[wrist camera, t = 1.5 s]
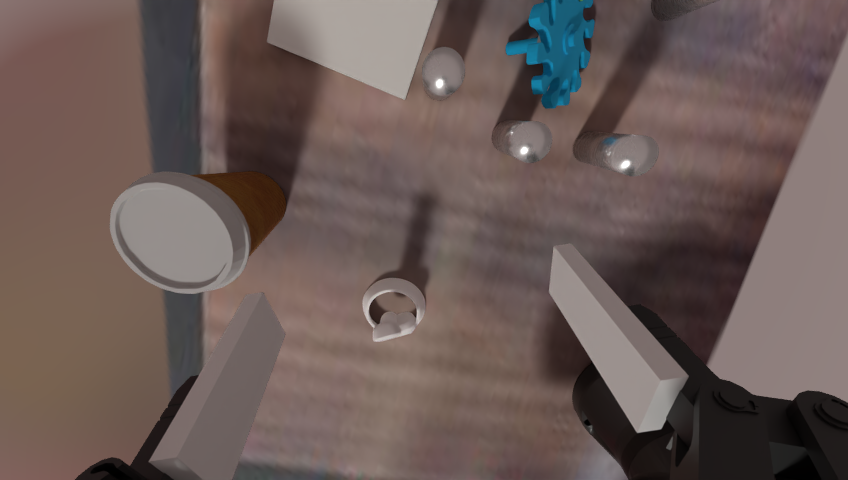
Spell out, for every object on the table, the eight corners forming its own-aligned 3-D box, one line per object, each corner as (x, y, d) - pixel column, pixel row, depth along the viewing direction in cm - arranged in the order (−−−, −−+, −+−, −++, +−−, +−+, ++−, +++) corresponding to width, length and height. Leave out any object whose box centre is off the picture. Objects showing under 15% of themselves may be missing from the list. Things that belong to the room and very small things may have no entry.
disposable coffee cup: (272, 257, 36) (203, 320, 25) (195, 205, 34) (82, 248, 23) (318, 196, 34) (264, 235, 22) (238, 134, 31) (134, 144, 20)
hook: (405, 251, 30) (435, 321, 28) (413, 273, 42) (434, 323, 40) (331, 282, 30) (356, 355, 28) (360, 295, 41) (379, 347, 39)
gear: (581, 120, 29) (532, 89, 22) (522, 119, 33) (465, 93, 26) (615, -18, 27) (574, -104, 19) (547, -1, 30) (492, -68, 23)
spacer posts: (695, -12, 27) (799, -63, 19) (582, 185, 33) (628, 205, 25) (491, -119, 24) (520, -224, 17) (411, 114, 31) (406, 113, 23)
